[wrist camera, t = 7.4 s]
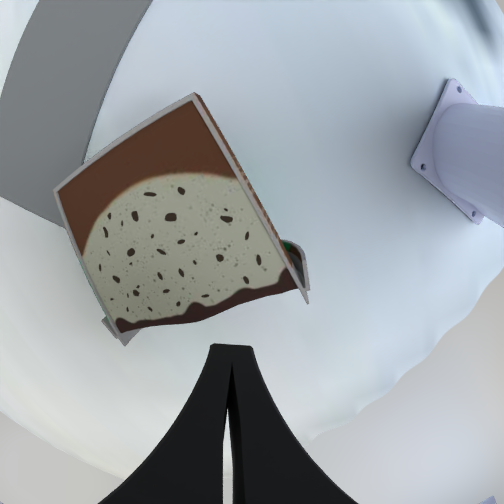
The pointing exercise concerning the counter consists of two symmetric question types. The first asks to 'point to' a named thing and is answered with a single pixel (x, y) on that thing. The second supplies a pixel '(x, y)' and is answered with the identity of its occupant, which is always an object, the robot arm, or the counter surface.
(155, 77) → the counter surface
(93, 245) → the food container
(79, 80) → the mat
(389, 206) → the counter surface
